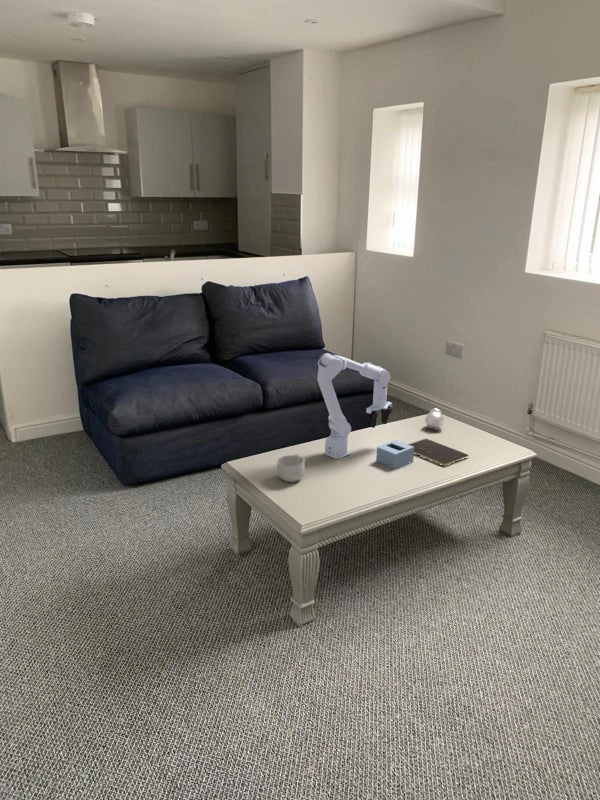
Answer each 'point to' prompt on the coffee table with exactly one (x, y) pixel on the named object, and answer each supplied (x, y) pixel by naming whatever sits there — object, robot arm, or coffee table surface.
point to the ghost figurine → (434, 419)
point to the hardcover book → (437, 452)
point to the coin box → (395, 454)
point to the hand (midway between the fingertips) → (378, 425)
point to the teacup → (291, 467)
